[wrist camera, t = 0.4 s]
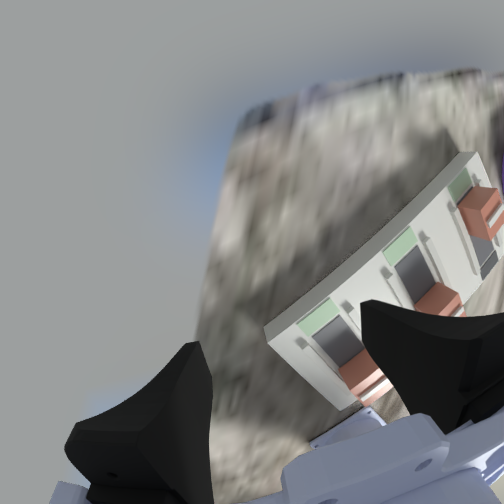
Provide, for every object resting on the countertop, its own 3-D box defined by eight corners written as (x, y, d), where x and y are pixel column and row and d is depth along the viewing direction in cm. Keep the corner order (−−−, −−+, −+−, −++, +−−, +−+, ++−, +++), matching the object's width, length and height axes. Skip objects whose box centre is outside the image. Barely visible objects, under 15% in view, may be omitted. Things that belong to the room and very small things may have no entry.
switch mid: (447, 304, 21) (468, 318, 18) (424, 327, 21) (444, 344, 18) (437, 281, 20) (460, 294, 17) (413, 305, 20) (434, 321, 17)
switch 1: (381, 365, 22) (397, 386, 19) (353, 387, 22) (367, 409, 19) (367, 346, 21) (384, 367, 18) (337, 369, 21) (351, 393, 18)
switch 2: (485, 213, 19) (509, 219, 16) (468, 234, 19) (493, 242, 16) (474, 185, 19) (499, 188, 16) (457, 206, 19) (483, 211, 16)
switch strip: (493, 240, 23) (513, 247, 20) (332, 395, 25) (342, 415, 22) (459, 152, 20) (481, 151, 17) (263, 327, 23) (268, 347, 20)
